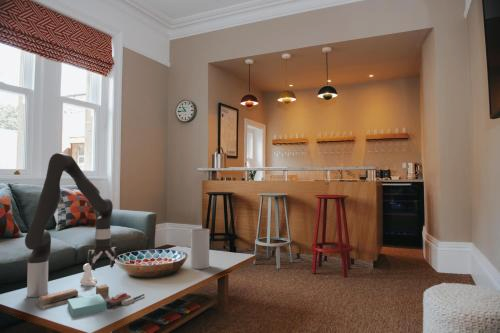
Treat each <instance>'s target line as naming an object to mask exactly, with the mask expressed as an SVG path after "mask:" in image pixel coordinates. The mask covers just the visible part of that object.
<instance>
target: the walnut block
mask: <svg viewBox="0 0 500 333" xmlns="http://www.w3.org/2000/svg"><path fill="white" fill-rule="evenodd" d="M109 288H110V287H109V285H108V284H106V283H105V284H100V285H99V284H98V285H95V295H96V294H100V295H101V296H102V298H106V297H107V296H108V297H109V295H110V294H109Z"/></svg>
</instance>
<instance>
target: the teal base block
mask: <svg viewBox="0 0 500 333" xmlns="http://www.w3.org/2000/svg"><path fill="white" fill-rule="evenodd" d="M106 303H107V302H106V301H105V299H104V297H102V296H101V295H100V294H96V293H95V294H91V295H86V296H82V297H79V298H74V299H68V303H67V309H68V310H69V312H70V314H71V317H72V318H76V317H79V316H83V315H84V316H85V315H89V314H95V313H99V312H103V311H107V307H106Z"/></svg>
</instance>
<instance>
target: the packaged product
mask: <svg viewBox="0 0 500 333" xmlns="http://www.w3.org/2000/svg"><path fill="white" fill-rule="evenodd" d="M79 297H83V296H81V295H79V290H77V289H76V288H72V289H65V290H63V291H57V292H52V293H50V294H49V293H48V294H46V295H43V296H39V297H38V300H37V302H35V304H36V306H37V307H40V308H41V309H43V310H47V309H50V308H54V307H57V306H62V305H66V304H68V299H74V298H79Z"/></svg>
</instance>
